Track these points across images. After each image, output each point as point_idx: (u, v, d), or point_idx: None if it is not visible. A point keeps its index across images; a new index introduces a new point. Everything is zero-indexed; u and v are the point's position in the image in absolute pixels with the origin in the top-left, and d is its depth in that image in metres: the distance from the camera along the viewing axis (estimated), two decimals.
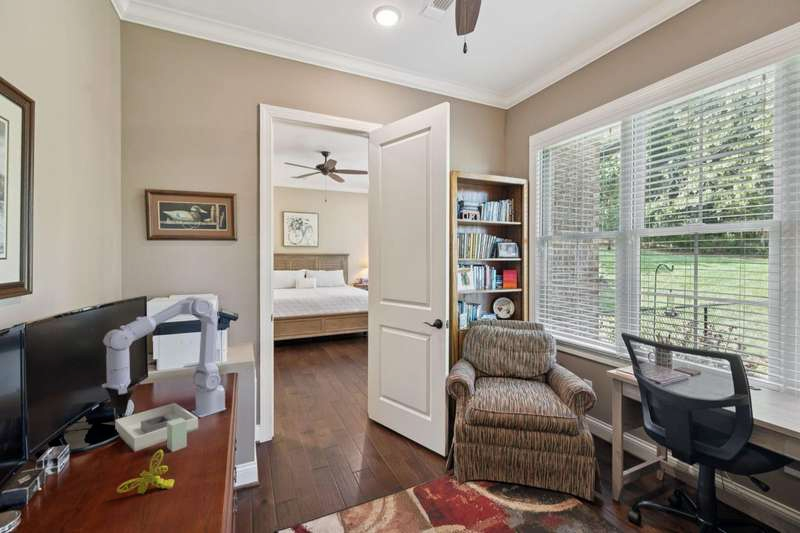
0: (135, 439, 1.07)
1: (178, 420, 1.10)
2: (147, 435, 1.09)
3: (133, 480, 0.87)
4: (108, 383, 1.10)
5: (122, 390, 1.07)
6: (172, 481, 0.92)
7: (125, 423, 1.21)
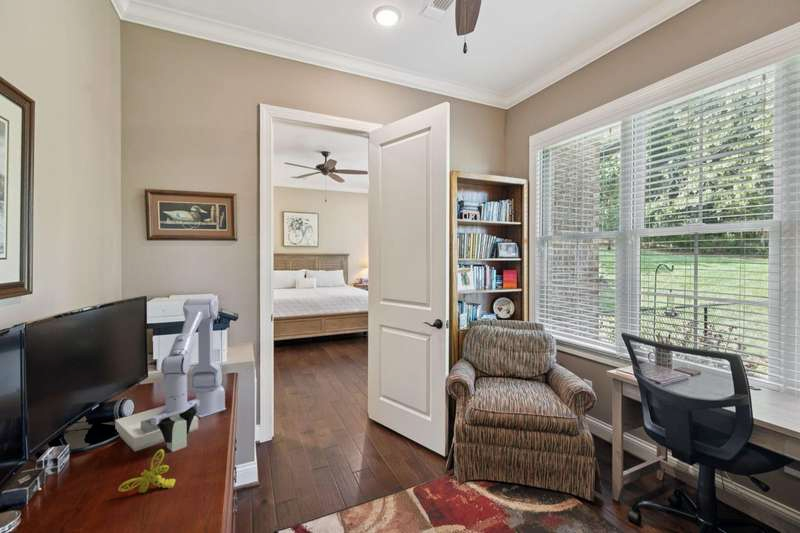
0: (135, 439, 1.07)
1: (178, 420, 1.10)
2: (147, 435, 1.09)
3: (134, 479, 0.87)
4: None
5: (153, 420, 1.03)
6: (173, 481, 0.92)
7: (125, 423, 1.21)
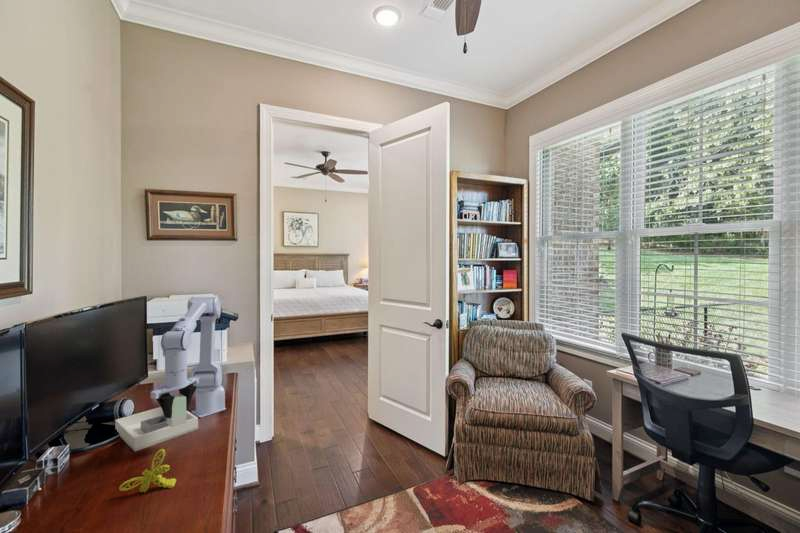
0: (135, 439, 1.07)
1: (178, 396, 1.10)
2: (147, 435, 1.09)
3: (135, 479, 0.88)
4: None
5: (152, 395, 1.02)
6: (174, 480, 0.92)
7: (125, 423, 1.21)
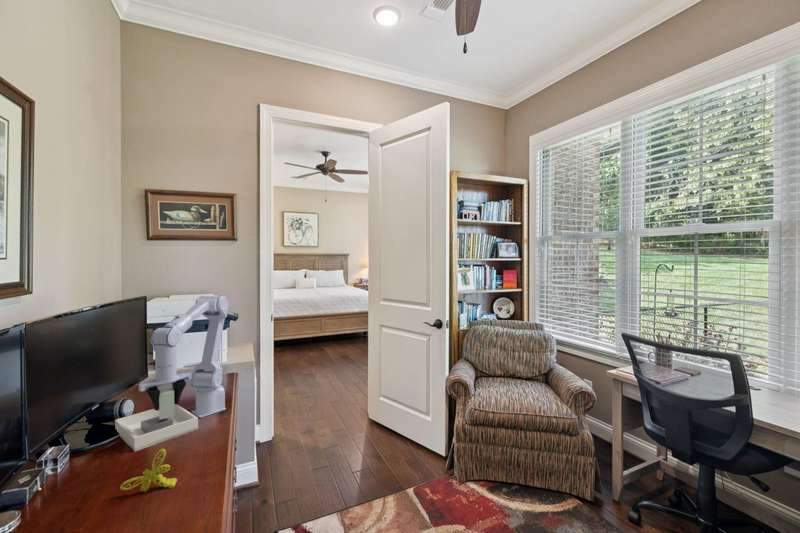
0: (135, 439, 1.07)
1: (168, 390, 1.15)
2: (147, 435, 1.09)
3: (136, 478, 0.88)
4: None
5: (139, 387, 1.09)
6: (175, 480, 0.92)
7: (125, 423, 1.21)
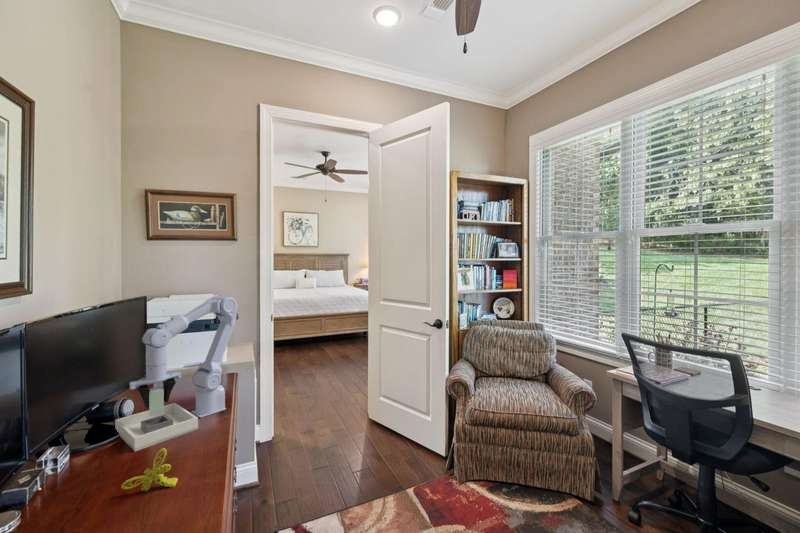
0: (135, 439, 1.07)
1: (158, 388, 1.20)
2: (147, 435, 1.09)
3: (137, 477, 0.88)
4: None
5: (130, 385, 1.14)
6: (175, 480, 0.92)
7: (125, 423, 1.21)
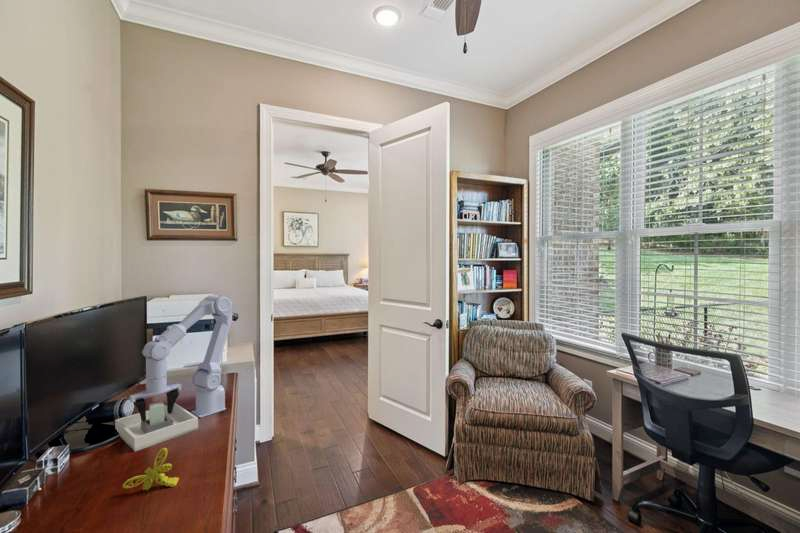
0: (135, 439, 1.07)
1: (158, 404, 1.21)
2: (147, 435, 1.09)
3: (138, 477, 0.89)
4: None
5: (130, 398, 1.14)
6: (176, 479, 0.92)
7: (125, 423, 1.21)
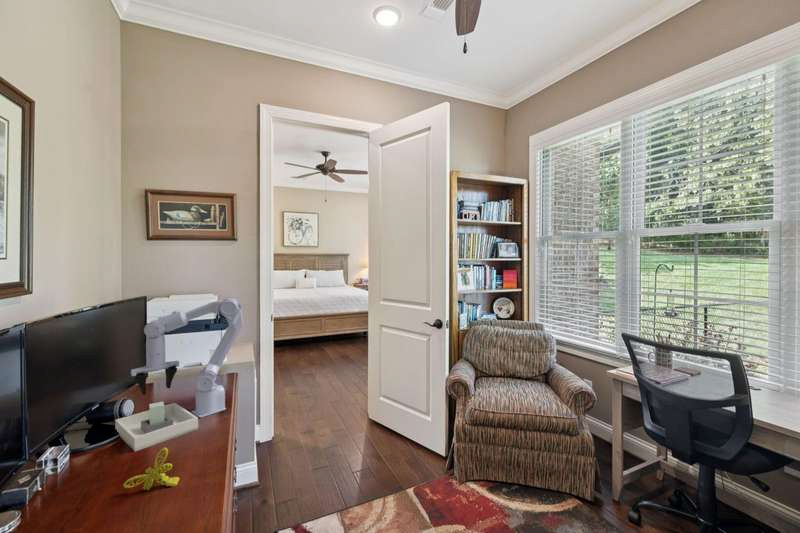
0: (135, 439, 1.07)
1: (158, 404, 1.21)
2: (147, 435, 1.09)
3: (139, 476, 0.89)
4: None
5: (131, 372, 1.23)
6: (177, 479, 0.93)
7: (125, 423, 1.21)
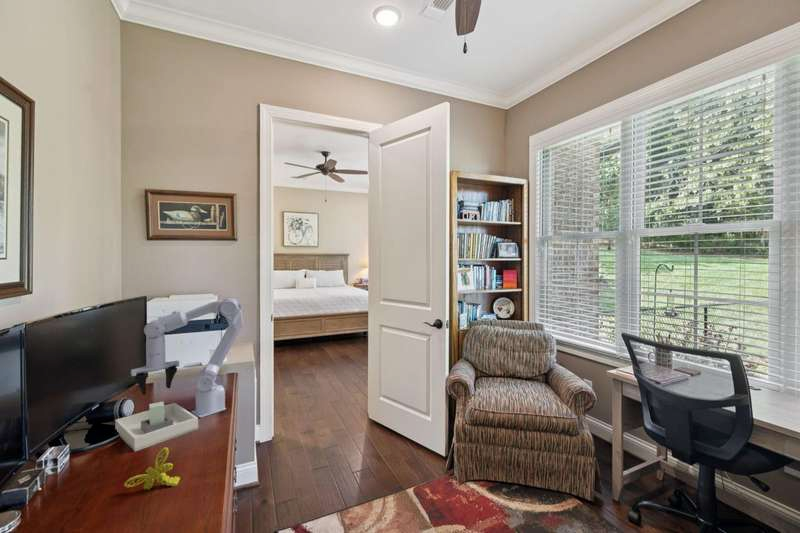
0: (135, 439, 1.07)
1: (158, 404, 1.21)
2: (147, 435, 1.09)
3: (139, 476, 0.89)
4: None
5: (131, 372, 1.23)
6: (177, 479, 0.93)
7: (125, 423, 1.21)
